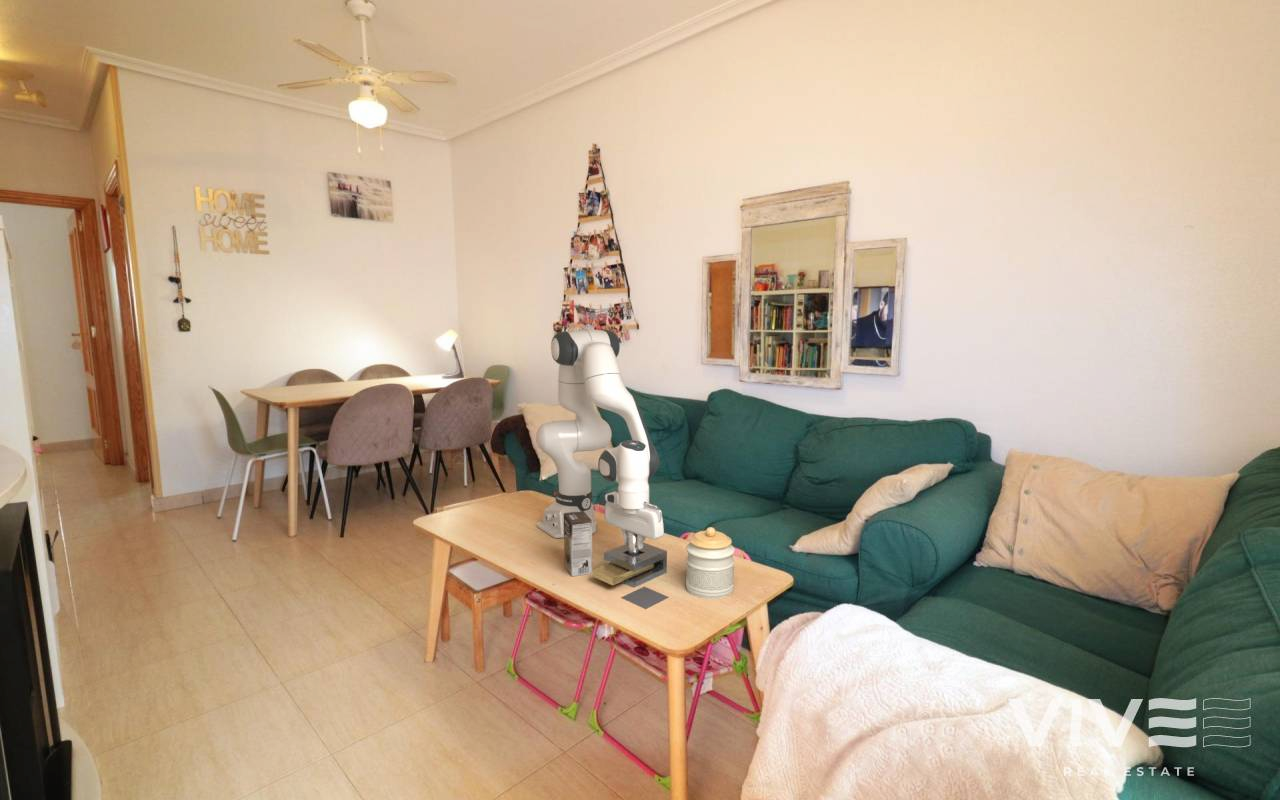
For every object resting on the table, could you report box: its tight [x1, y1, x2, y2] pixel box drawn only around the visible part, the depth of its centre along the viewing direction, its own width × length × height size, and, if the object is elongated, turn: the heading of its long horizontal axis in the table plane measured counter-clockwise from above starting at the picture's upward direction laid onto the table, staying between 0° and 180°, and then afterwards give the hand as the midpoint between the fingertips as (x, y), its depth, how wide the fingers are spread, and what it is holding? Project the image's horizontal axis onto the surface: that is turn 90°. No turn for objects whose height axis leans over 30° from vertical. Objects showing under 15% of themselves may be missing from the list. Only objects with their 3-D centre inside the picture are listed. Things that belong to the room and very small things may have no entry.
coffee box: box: [563, 511, 593, 577], centre depth 171 cm, size 9×6×16 cm
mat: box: [620, 586, 670, 610], centre depth 154 cm, size 9×9×1 cm
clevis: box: [592, 542, 668, 589], centre depth 166 cm, size 12×20×7 cm, turn 136°
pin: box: [628, 531, 639, 557], centre depth 167 cm, size 3×3×10 cm
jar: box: [685, 526, 736, 600], centre depth 158 cm, size 13×13×18 cm
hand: (633, 546), depth 167 cm, fingers closed on pin, 3 cm apart
